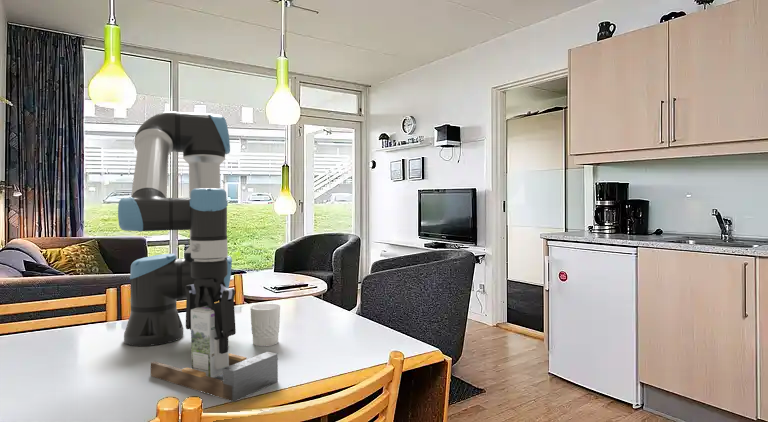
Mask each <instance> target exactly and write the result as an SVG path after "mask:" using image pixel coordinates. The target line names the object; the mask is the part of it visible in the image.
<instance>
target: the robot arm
mask: <svg viewBox="0 0 768 422" xmlns="http://www.w3.org/2000/svg"><path fill="white" fill-rule="evenodd" d="M133 143H134V148H135V150H136V158H135V165H134V174H133V180H132V181H133V182H132V188H131V194H130V195H131V196H129V197H122V198H121V199H120V200H119V202H118V206H117V218H118V219H117V220H118V226H119V228H120V229H121V230H122V231H124V232H125V231H126V232H127V231H128V232H139V233H142V232H160V231H189V247H187V248H186V250H184V251H183V252H184V253H183V255H184V257H183V258H177V255H176V253H164V254H157V255H156V254H155V255H150V256H146V257H145V256H144V257H142V258H137V259H136V260H134V261H133V262H132V263H131V265H130V275H129V279H130V314H129V318H128V320H127V324H126V326H125V331H124V334H123V343H124V344H126V345H128V346H132V347H133V346H135V347H137V346H138V347H145V346H146V347H147V346H148V347H149V346H158V345H163V344H167V343H168V344H169V343H172V342H175V341H178V340H180V339H181V338H182V337H184V325H183V323H182V319H181V317H180V315H179V311H178V309H177V307H178V306H177V300H178V301H179V300H186V303H185V306H186V307H185V308H186V309H185V329H186V330H189V331H191V309H194V308H197V307H198V308H200V307H204V306H209V308H211V310H214V314H215V329H216V334H217V337H215V338H214V366H215V369H216V370H218V369H220V368H223V367H226V366H227V352H228V346H229V337H231V336H234V335H236V333H237V332H236V331H237V330H236V329H237V328H236V316H235V296H236V290H235V288H230V289H229V287H230V282H231V276H232V265H233V263H232V262H233V259H232V257H231V255H228V251H229V250H228V233H227V232H228V229H227V228H228V200H227V199H228V198H227V191H226V190H225V189H223V188H221V164H222V163H223V162H224V161H225V160H226V155H229V154H230V153H231V144H230V134H229V127H228V123H227V120H226V119H225V117H224V116H223V115H221V114H215V113H209V112H208V113H205V112H203V113H202V112H184V111H182V112H181V111H172V110H171V111H170V110H169V111H163V112H160V113H157V114H155V115H153V116H151V117H149V118H147V120H145V121H144V122H143V123H142V124H141V125H140V126H139V127H138V130H137V132H136V133H135V137H134V142H133ZM171 153H182V155H183V156H182V158H183V160H185V162H186V163H187V164H188V184H189V185H188V189H189V190H188V191H189V192H188V197H168V177H169V176H168V174H169V156H170V155H171ZM222 331H223V332H222Z"/></svg>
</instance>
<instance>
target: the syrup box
mask: <svg viewBox="0 0 768 422" xmlns="http://www.w3.org/2000/svg"><path fill="white" fill-rule="evenodd" d="M222 332H223V331H222ZM190 336H191V337H190V339H191V340H190V343H191V345H190V346H191V347H190V348H191V352H190V353H191V369H195V370H198V371H202V372H206V376H209V377H212V378H217V377H219V376H222V375H223V368H225V367H223V368H220V369H218V370H216V369H215V366H214V338H215V337H217V334H216V329H215V314H214V310H211V308H209V306H204V307H200V308H198V307H197V308H194V309H191V330H190ZM229 351H230V350H229V345H228V352H227V366H226V367H228V366H229Z"/></svg>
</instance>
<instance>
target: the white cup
mask: <svg viewBox="0 0 768 422" xmlns="http://www.w3.org/2000/svg"><path fill="white" fill-rule="evenodd" d="M249 309H250V324H251V325H250V326H251V335H252V344H253V345H254V346H256V347H270V346H274V345H277V344H278V343H279V333H280V322H281V321H280V320H281V305H280V304H277V303H273V302H272V303H258V304H254V305H251V306H250V307H249Z"/></svg>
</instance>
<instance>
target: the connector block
mask: <svg viewBox="0 0 768 422" xmlns="http://www.w3.org/2000/svg"><path fill="white" fill-rule="evenodd" d="M278 357H279V356H278V353H275V352H270V351H266V352H263V353H260V354H257V355H255V356H252V357H250V358H249V357H248V358H247V359H246V360H244V361H241V362H238V363H236V364H233V365H230V366H228V367H225V368H223V374H222V380H223V384H227V385H230V386H232V387H231V389H232V394H231V396H232V398H231V400H230V402H237V401H240V400H241V399H244V398H245V397H248V396H250V395H253V394H254V393H256V392H258V391H261V390H263V389H264V388H265V389H266V388H267V387H269V386H271V385H274V384H276V383H278V380H279V379H278V377H279V373H278V371H279V370H278V369H279V367H278V365H279V364H278V362H279V361H278V360H279V359H278ZM230 386H229V388H230ZM223 387H224V386H223ZM225 387H226V386H225ZM227 388H228V387H227ZM229 388H228V390H229ZM223 389H225V388H223ZM231 389H230V390H231ZM225 390H226V389H225ZM223 392H224V390H223ZM227 392H228V391H226V393H227ZM224 396H226V395H223V397H224ZM227 396H228V395H227ZM227 396H226V397H227ZM229 398H230V397H229V396H228V399H229ZM222 399H223V400H225V399H224V398H222Z"/></svg>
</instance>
